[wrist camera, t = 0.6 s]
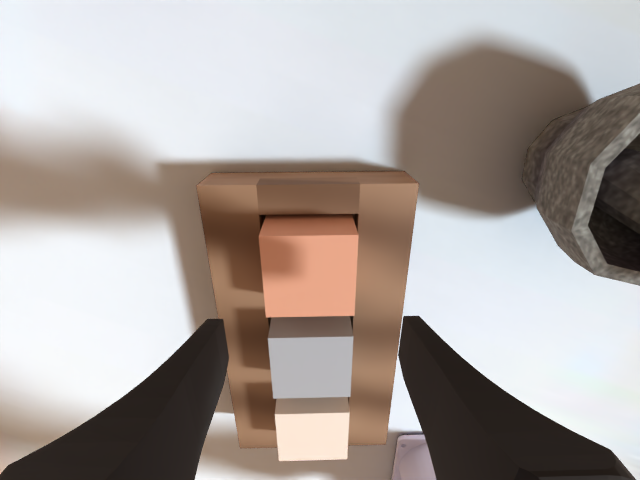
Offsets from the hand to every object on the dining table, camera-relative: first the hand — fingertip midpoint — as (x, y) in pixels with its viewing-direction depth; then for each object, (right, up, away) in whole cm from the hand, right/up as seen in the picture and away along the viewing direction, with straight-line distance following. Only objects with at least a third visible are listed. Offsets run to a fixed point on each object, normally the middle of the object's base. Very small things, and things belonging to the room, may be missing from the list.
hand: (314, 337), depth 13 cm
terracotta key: (0, +3, +7) cm, 8 cm away
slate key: (0, -3, +10) cm, 10 cm away
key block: (0, -2, +12) cm, 12 cm away
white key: (0, -9, +13) cm, 15 cm away
